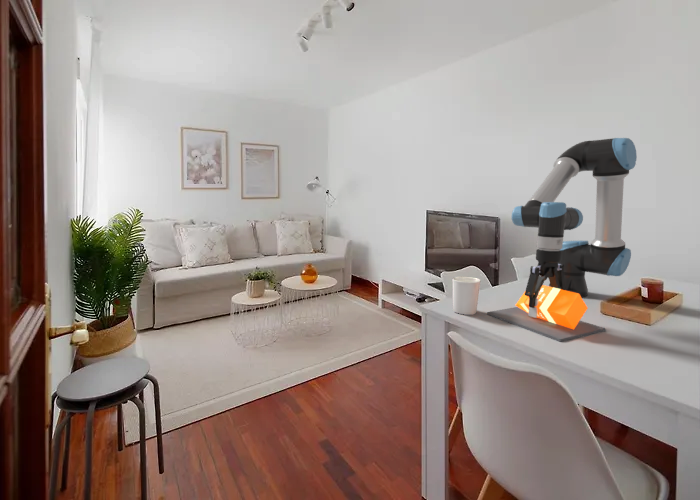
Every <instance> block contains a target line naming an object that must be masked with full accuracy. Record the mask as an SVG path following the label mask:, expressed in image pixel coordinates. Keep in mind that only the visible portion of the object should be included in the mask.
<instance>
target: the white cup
mask: <svg viewBox="0 0 700 500" xmlns="http://www.w3.org/2000/svg"><path fill="white" fill-rule="evenodd" d="M451 281H452V311H453V312H454V313H456V314H458V313H459V314H458V315H463V314H464V316H465V315H467V316H471V315H475V314H476V313H477V310H478V304H479V295H480V287H481V282H482V280H481V279H479V278H478V277H477V278H476V277H471V276H454V277H453V278H452V280H451Z"/></svg>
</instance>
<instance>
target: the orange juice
mask: <svg viewBox="0 0 700 500" xmlns="http://www.w3.org/2000/svg"><path fill="white" fill-rule="evenodd" d="M537 298H539V301H538V305H537V309H538V313H537V318H540V319H543V320H546V321H549V322H552V323H555V324H559V325H562V326H565V327H568V328H571V329H574V328H575V327H576V325H577V324H578V322H579V321H581V319H582V318H583V316H584V314H585V313H586V312H587V310H588V306H587V304H586V303H585V301H584V300H583V299H582V297H581V296H580V294H578V293H574V292H570V291H566V290H562V289H558V288H554V287H549V285H545V284H543V285H542V287H541V289H540V292H539V294H538V296H537ZM514 306H515V307H519V308H521V309H522V310H524V311H526V312H527V313H529V297H528V296H525V291H524V292H523V294H522V295H521V296H520V297H519V300H518V301H517V302H516V303H515V305H514ZM535 307H536V306H535Z"/></svg>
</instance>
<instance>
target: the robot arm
mask: <svg viewBox="0 0 700 500" xmlns="http://www.w3.org/2000/svg"><path fill="white" fill-rule="evenodd" d="M636 162H637V150H636V145H635V143H634V142H633V140H632V139H630V138H629V137H614V138H613V137H612V138H604V139H595V140H584V141H582V142H579V143H576V144H574V145H573V146H571V147H569V148H568V149H567V150H565V151H563V152H562V153H561V154H560V155H559V156H558V157H557V158H556V160H555V161H554V163H553V168H552V169H551V171H550V172H549V173H548V174H547V176H546V177H545V178H544V180H543V181H542V183H541V184H540V185H539V186H538V188H537V190H536V191H535V192H534V193H533V195H532V196H531V197H530V198H529V200H528V201H527V202H526V203H525V205H518V206H515V207H514V208H513V210H512V212H511V220H512V224H513V225H515V226H518V227H524V228H538V229H537V231H538V232H537V240H536V247H537V249H536V250H535V251H536V252H535V259H536V261H537V266H533V265H531V266H530V269H529V270H530V271H529V276H528V280H527V283H526V284H527V285H526V288H525V291H524V292H525V296H528V297H529V314H528V316H531V317H534V318H537V313H538V309H537V305H538V301H539V298H537V296H538V294H539V292H540V289H541V287H542V285H544V282H545V281H546V280H547V279H548V280H549V284H548V286H549V287H554V288H558V289H562V290H566V291H570V292H574V293H578V294H580V296H581V298H582V297H586V296H588V294H589V293H588V292H589V289H588V284H587V282H586V273H591V274H598V275H603V276H608V277H609V276H611V277H621V276H622V275H623V274H624V273H625V272H626V271H627V269H628V266H629V265H630V262H631V256H632V250H631V249H630V248H628V247H626V241H624V240H623V239H622V226H623V225H622V223H623V204H624V203H623V201H624V200H623V199H624V182H625V181H624V180H625V178H626V177H627V176H629V175H630V171H631V170H633V169H634V168H635V166H636V165H637V164H636ZM587 171H590V172H591V171H592V177H593V178H594V179H596V198H595V199H596V200H595V201H596V202H595V206H596V207H595V232H594V233H595V236H594V239H593V240H591V241H590V243H589V241H588V240H564V235H565V231H572V230H574V229H577V228H579V227H580V226H581V225H582V223H583V220H584V215H583V213H582V211H581V210H580V209H578V208H576V207H568V206H567V203H566V202H563V201H561V202H560V201H558V202H555V201H556V200H557V198H558V197H559V196H560V195H561V193H562V191H563V190H564V188H565V187H566V186H567V185H568V183H569V182H570V180H571V179H572V178H574V177H576V176H577V175H578V173H580V172H587ZM535 306H536V307H535Z"/></svg>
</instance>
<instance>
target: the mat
mask: <svg viewBox="0 0 700 500" xmlns="http://www.w3.org/2000/svg"><path fill="white" fill-rule="evenodd" d="M528 314H529V313H527V312H526V311H524V310H522V309H521V308H519V307H517V306H515V307H509V308H504V309H498V310H492V311H487V312H486V315H487V316H491V317H493V318H496V319H498V320H501V321H504V322H507V323H509V324H512V325H514V326H517V327H520V328H521V329H522V328H523V329H525V330H528V331H530V332H533V333H536V334H537V335H538V334H539V335H541V336H544V337H545V338H550V339H552V340H554V341H558V342H560V343H561V342H565V341H568V340H573V339H576V338H580V337H585V336H589V335H593V334H596V333H601V332H604V331H606V328H605V327H602V326H600V325H596V324H592V323H589V322H586V321H583V320H580V321H579V322H578V324H577V325H576V327H575V328H574V329H571V328H568V327H565V326H562V325H559V324H555V323H552V322H549V321H546V320H543V319H540V318H534V317H531V316H528Z"/></svg>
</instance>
